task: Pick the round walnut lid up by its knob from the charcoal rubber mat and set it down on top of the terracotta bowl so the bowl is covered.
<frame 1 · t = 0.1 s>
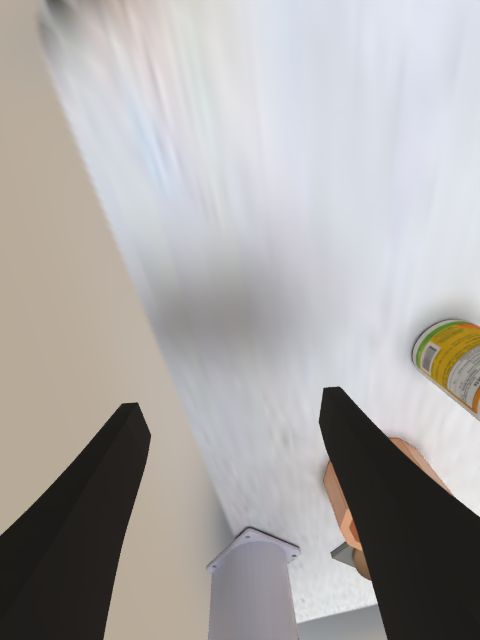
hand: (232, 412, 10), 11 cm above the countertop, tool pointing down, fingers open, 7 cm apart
supplement bottle: (440, 346, 22), on the countertop
bowl: (372, 473, 27), on the countertop
lid: (401, 548, 31), resting on mat
mat: (399, 544, 32), on the countertop
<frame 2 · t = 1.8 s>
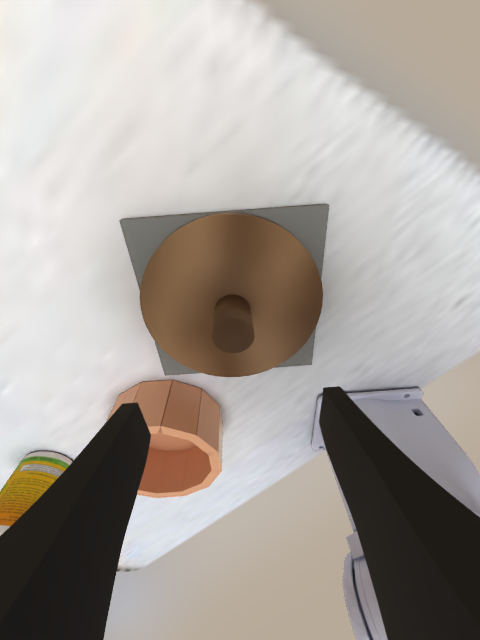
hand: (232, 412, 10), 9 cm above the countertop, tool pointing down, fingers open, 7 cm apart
supplement bottle: (52, 462, 28), on the countertop
bowl: (169, 418, 24), on the countertop
lid: (232, 305, 18), resting on mat
mat: (232, 302, 18), on the countertop
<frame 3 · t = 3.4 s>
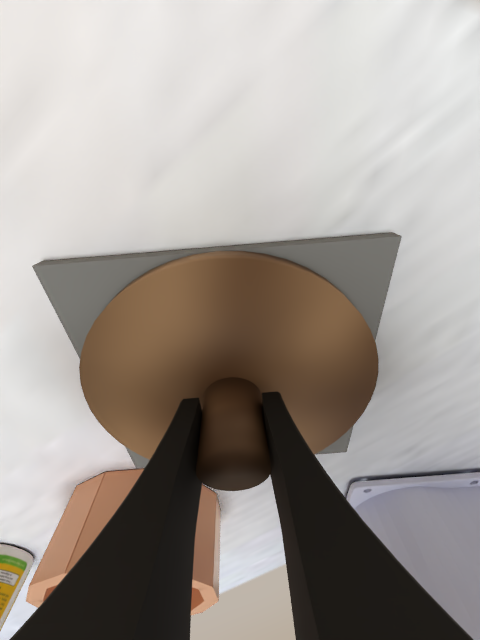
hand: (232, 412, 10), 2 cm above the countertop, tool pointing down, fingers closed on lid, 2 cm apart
supplement bottle: (2, 551, 21), on the countertop
bowl: (148, 508, 18), on the countertop
lid: (232, 384, 11), resting on mat, touching gripper
mat: (232, 376, 12), on the countertop
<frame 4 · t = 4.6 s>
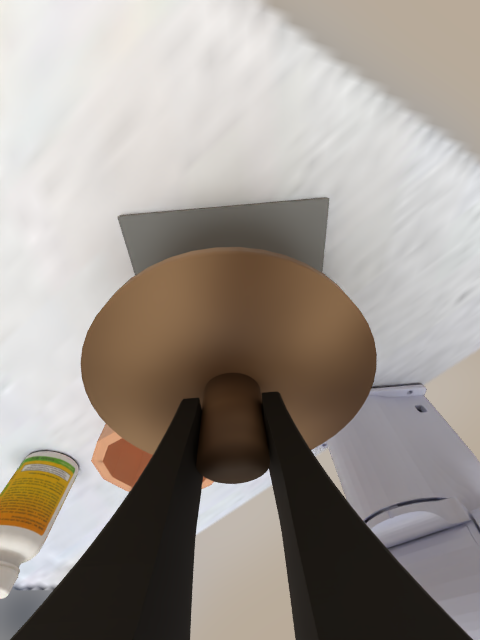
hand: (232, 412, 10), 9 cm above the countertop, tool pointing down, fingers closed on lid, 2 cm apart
supplement bottle: (54, 462, 28), on the countertop
bowl: (170, 417, 24), on the countertop
lid: (232, 379, 12), point 8 cm above the countertop, touching gripper
mat: (232, 298, 18), on the countertop
when the fingers open (7 cm above the countertop, at t = 6.0 s): lid stays where it is, resting on bowl.
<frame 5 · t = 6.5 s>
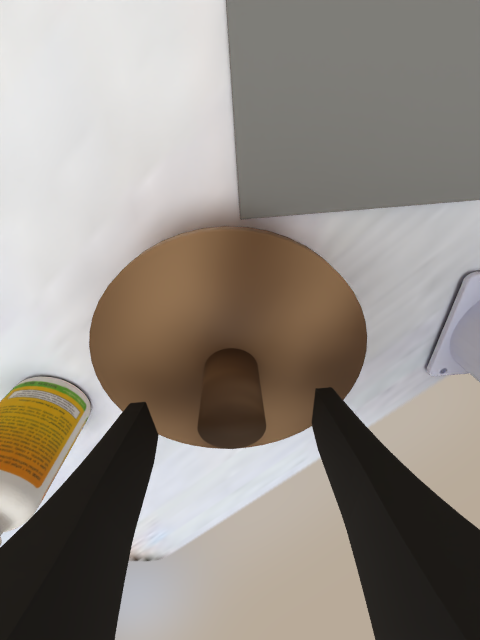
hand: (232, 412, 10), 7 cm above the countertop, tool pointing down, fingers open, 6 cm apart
supplement bottle: (56, 397, 20), on the countertop
lid: (231, 357, 12), point 4 cm above the countertop, touching bowl
mat: (382, 42, 10), on the countertop
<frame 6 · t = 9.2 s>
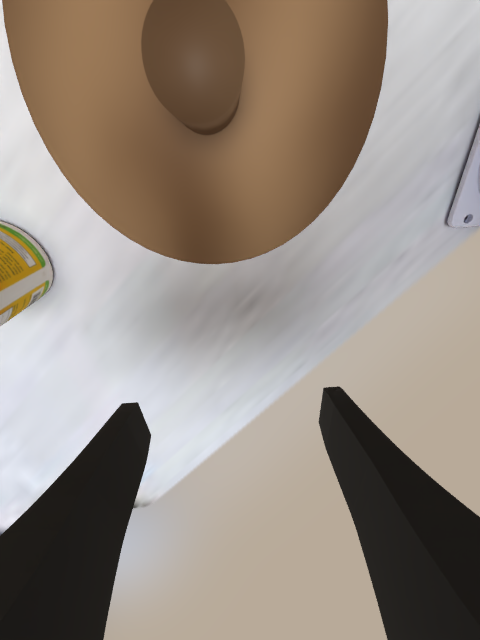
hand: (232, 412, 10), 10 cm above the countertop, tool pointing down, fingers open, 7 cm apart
supplement bottle: (12, 260, 17), on the countertop
lid: (206, 96, 9), point 4 cm above the countertop, touching bowl
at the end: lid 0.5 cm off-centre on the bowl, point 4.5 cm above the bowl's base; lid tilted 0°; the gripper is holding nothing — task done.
